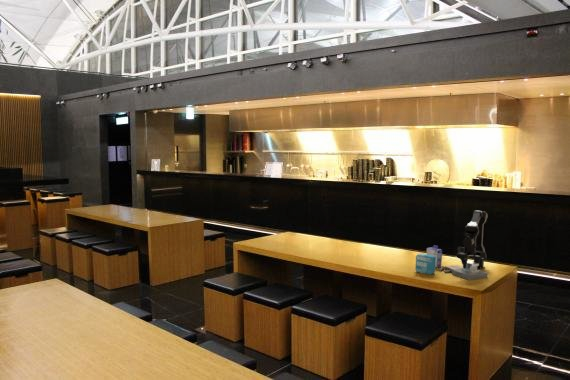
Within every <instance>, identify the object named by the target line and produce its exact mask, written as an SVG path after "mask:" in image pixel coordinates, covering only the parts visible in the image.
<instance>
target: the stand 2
mask: <svg viewBox="0 0 570 380" xmlns="http://www.w3.org/2000/svg"><path fill="white" fill-rule="evenodd" d="M478 270H479V269H478ZM451 275H453V276H456V277H458V278H461V277H462V279H465V280H468V281H473V280H478V279H479V280H480V279H485V278H486V279H487V278H488V275H489V274H488V272H486V271H483V270H479V271H478V273H469V272H466V271H463V270H461V269H454V270H452V272H451Z"/></svg>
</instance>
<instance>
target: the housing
mask: <svg viewBox="0 0 570 380" xmlns="http://www.w3.org/2000/svg"><path fill="white" fill-rule="evenodd" d="M477 266H479V263H476V262H474V261H472V260H469V259H468V261H467V265H466V268H464V267H463V266H462V267H463V268H461V270H463V271H466V272H469V273H478V271H479V269H478V268H477Z"/></svg>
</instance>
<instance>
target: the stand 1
mask: <svg viewBox="0 0 570 380" xmlns="http://www.w3.org/2000/svg"><path fill="white" fill-rule="evenodd" d="M444 267H445V269H444V270H445V271H446V270H450V269H453V270H454V269H461V268H463V265H459V264H453V265H445V266H444Z"/></svg>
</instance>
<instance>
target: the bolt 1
mask: <svg viewBox="0 0 570 380" xmlns="http://www.w3.org/2000/svg"><path fill="white" fill-rule="evenodd" d="M445 270H446V269H445V266H444V265H441V267H439V269H438V271H439V272H441V271H445Z"/></svg>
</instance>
